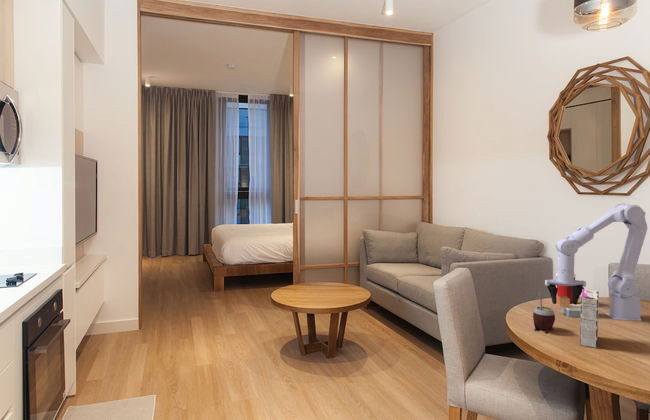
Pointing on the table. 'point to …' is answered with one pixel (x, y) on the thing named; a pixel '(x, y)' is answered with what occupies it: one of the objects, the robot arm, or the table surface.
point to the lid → (566, 304)
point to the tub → (571, 313)
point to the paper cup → (565, 292)
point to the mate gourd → (543, 317)
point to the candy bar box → (589, 318)
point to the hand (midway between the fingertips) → (564, 303)
